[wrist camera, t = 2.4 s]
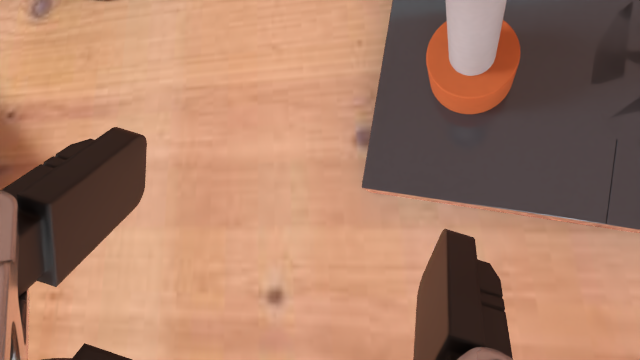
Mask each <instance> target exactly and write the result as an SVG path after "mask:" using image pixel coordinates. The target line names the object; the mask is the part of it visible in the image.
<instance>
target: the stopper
mask: <svg viewBox="0 0 640 360" xmlns="http://www.w3.org/2000/svg"><path fill="white" fill-rule="evenodd" d="M506 1H507V0H446V16H447V21H446V22H445V23H444V24H442V25H441V26H440V27H439V28H438V29H437V30H436V32H435V33H434V35H433V36H432V38H431V40H430V42H429V45H428V48H427V53H426V64H427V69H428V75H429V80H430V85H431V89H432V92H433V94H434V96H435V97H436V98H437V100H438V101H439V102H440V103H441V104H442V105H443V106H445V107H446V108H448V109H449V110H452V111H454V112H457V113H461V114H478V113H482V112H485V111H488V110H490V109H492V108H493V107H495V106H496V105H498V104H499V103H500V102H501V101H502V100H503V99H504V98H505V97H506V95H507V94H508V92H509V90H510V88H511V86H512V83H513V80H514V77H515V74H516V71H517V68H518V65H519V61H520V44H519V40H518V38H517V35H516V33H515V32H514V30H513V29H512V28H511V26H510V25H509V24H508V23H507V22H505V21H504V20H503V17H504V12H505V6H506Z"/></svg>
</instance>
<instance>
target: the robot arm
mask: <svg viewBox="0 0 640 360" xmlns="http://www.w3.org/2000/svg"><path fill="white" fill-rule="evenodd" d="M146 147H147V143H146V138H145V137H144V136H143V135H141V134H137V133H134V132H131V131H128V130H124V129H121V128H118V127H114V128H112V129H110V130H109V131H107V132H106V133H105V134H103V135H102V136H100V137H99V138H97V139H96V140H93V139H88V140H85V141H82V142H78V143H75V144H72V145H70V146H68V147H66V148H65V149H63V150H62V151H60V152H59V153H57V154H56V156H55V157H54V156H53V157H51V158H50V159H48V160H47V161H45V162H44V164H43V165H42V164H41V165H39V166H37V167H36V168H34V169H33V170H31V171H30V172H28V173H27V174H25V175H24V176H22V177H21V178H19V179H18V180H16V181H15V182H13V183H12V184H10V185H8V186H7V187H5V188H4V189H2V190H0V360H28V336H29V292H28V288H29V287H30V286H31V285H32V284H33V283H34V282H35V281H40V282H43V283H46V284H49V285H52V286H55V287H57V286H58V285H59V284H60V283H61V282H62V281H63V280H64V279H65V278H66V277H67V276H68V275H69V274H70V273H71V272H72V271H73V270H74V269H75V268H76V267H77V266H78V265H79V264H80V263H81V262H82V261H83V260H84V259H85V258H86V257H87V256H88V255H89V254H90V253H91V252H92V251H93V250H94V249H95V248H96V247H97V246H98V245H99V244H100V243H101V242H102V241H103V240H104V239H105V238H106V237H107V236H108V235H109V234H110V233H111V232H112V231H113V229H115V227H116V226H117V225H118V224H119V223H120V222H121V221H122V220H123V219H124V218H125V217H126V216H127V215H128V214H129V213H130V212H131V211H132V210H133V209H134V208H135V207H136V206H137V205H138V204H139V202H140V200H141V198H142V195H143V192H144V188H145V172H146ZM502 296H503V294H502V288H501V282H500V279H499V277H498V276H497V274H496V272H495V271H494V269H493V268H492V266H491V265H490V263H487V262H483V261H480V260H477V255H476V245H475V239H474V238H473V237H470V236H467V235H463V234H460V233H457V232H454V231H450V230H447V229H444V230H443V232H442V233H441V235H440V237H439V240H438V242H437V244H436V246H435V249H434V251H433V253H432V255H431V258H430V260H429V262H428V264H427V267H426V269H425V271H424V273H423V276H422V279H421V282H420V286H419V290H418V295H417V309H416V326H415V343H414V359H413V360H513V358H512V352H511V345H510V339H509V332H508V326H507V320H506V313H505V312H504V310H505V307H504V301H503V299H502ZM43 360H132V359H129V358H126V357H123V356H120V355H117V354H114V353H111V352H108V351H105V350H102V349H99V348H97V347H94V346H91V345H88V344H85V343H84V345H83V346H82V347H81V348H80V350H79V351H78V352H77V353H76V355H75V356H74V357H73V358H52V359H43Z"/></svg>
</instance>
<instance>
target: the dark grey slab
mask: <svg viewBox="0 0 640 360" xmlns="http://www.w3.org/2000/svg"><path fill="white" fill-rule="evenodd" d="M503 20H504V21H505V22H507V23H508V24H509V25H510V26H511V28H512V29H513V30H514V32H515V33H516V35H517V38H518V40H519V44H520V61H519V65H518V68H517V71H516V74H515V77H514V80H513V83H512V86H511V88H510V90H509V92H508V94H507V95H506V97H505V98H504V99H503V100H502V101H501V102H500V103H499V104H498V105H496V106H495V107H493V108H492V109H490V110H488V111H485V112H482V113H478V114H461V113H457V112H454V111H452V110H449V109H448V108H446V107H445V106H443V105H442V104H441V103H440V102H439V101H438V100H437V98H436V97H435V96H434V94H433V92H432V89H431V85H430V80H429V75H428V69H427V64H426V53H427V48H428V45H429V42H430V40H431V38H432V36H433V35H434V33H435V32H436V30H437V29H438V28H439V27H440V26H441V25H442V24H444V23H445V22H446V21H447V16H446V0H393V1H392V7H391V13H390V19H389V25H388V31H387V37H386V43H385V49H384V55H383V61H382V67H381V73H380V79H379V85H378V91H377V97H376V103H375V109H374V115H373V121H372V127H371V133H370V139H369V145H368V151H367V157H366V163H365V169H364V175H363V181H362V188H363V189H365V190H367V191H369V192H372V193H379V194H385V195H392V196H398V197H405V198H411V199H418V200H425V201H431V202H438V203H444V204H451V205H457V206H464V207H471V208H477V209H484V210H490V211H497V212H503V213H510V214H516V215H523V216H530V217H536V218H543V219H549V220H556V221H562V222H569V223H576V224H582V225H589V226H595V227H602V228H608V229H615V230H621V231H628V232H634V233H640V0H507V1H506V6H505V12H504V17H503Z"/></svg>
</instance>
